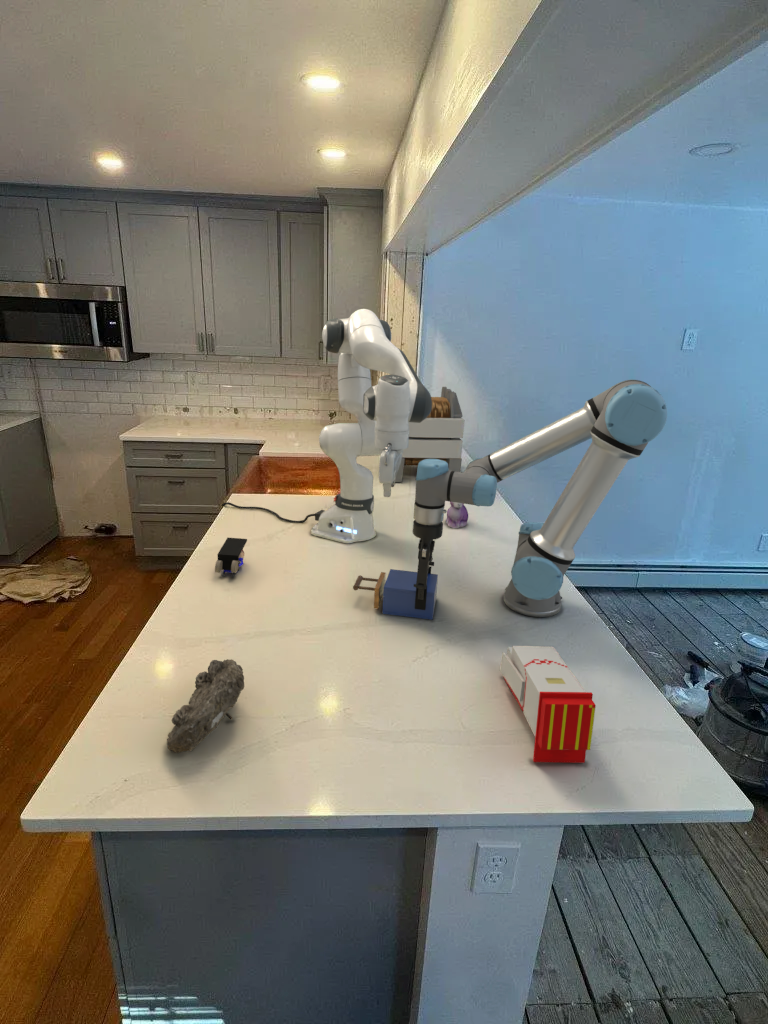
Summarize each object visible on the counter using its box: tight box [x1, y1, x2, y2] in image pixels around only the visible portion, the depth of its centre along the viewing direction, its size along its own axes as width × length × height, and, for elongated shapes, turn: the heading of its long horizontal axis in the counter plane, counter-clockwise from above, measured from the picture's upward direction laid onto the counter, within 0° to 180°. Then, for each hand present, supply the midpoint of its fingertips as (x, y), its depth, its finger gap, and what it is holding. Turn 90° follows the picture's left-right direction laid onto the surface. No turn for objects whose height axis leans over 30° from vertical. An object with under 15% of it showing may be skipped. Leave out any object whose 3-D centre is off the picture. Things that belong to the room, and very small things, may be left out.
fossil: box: [166, 658, 245, 754], centre depth 106 cm, size 22×10×15 cm
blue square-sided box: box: [381, 568, 439, 621], centre depth 150 cm, size 13×11×8 cm
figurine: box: [445, 502, 469, 529], centre depth 209 cm, size 9×10×15 cm
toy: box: [499, 645, 597, 764], centre depth 112 cm, size 12×13×30 cm
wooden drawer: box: [352, 571, 387, 610], centre depth 151 cm, size 18×10×6 cm, turn 80°
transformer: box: [395, 386, 465, 483], centre depth 268 cm, size 34×33×41 cm
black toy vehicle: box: [214, 537, 248, 578], centre depth 166 cm, size 7×8×15 cm
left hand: (389, 491), depth 151 cm, fingers open, 8 cm apart
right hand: (422, 598), depth 150 cm, fingers closed on blue square-sided box, 11 cm apart
